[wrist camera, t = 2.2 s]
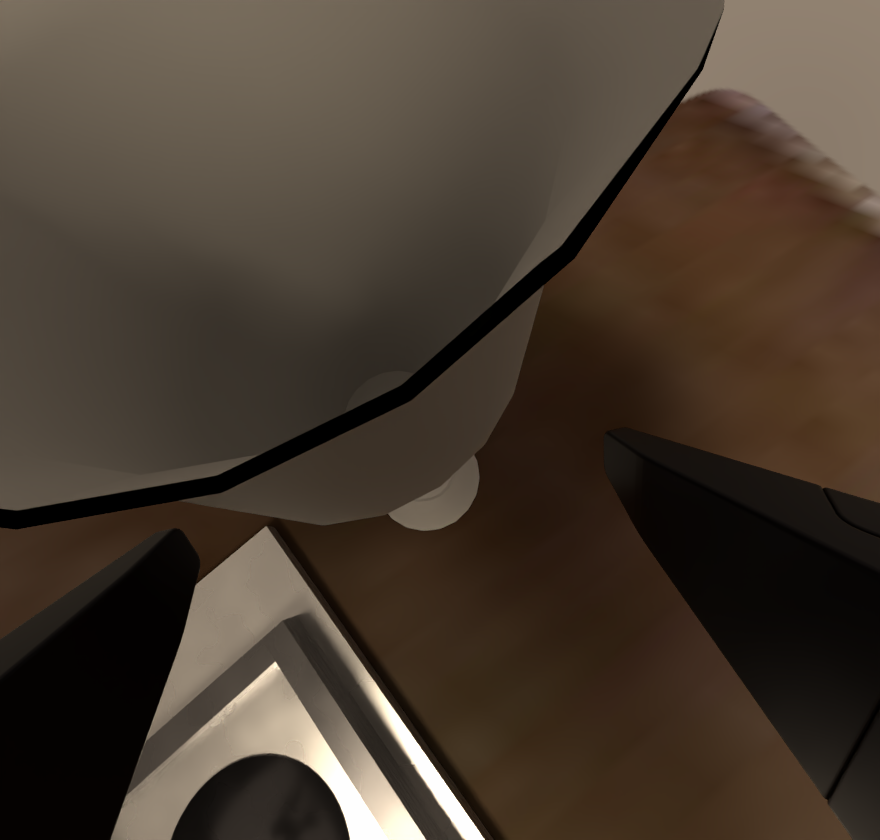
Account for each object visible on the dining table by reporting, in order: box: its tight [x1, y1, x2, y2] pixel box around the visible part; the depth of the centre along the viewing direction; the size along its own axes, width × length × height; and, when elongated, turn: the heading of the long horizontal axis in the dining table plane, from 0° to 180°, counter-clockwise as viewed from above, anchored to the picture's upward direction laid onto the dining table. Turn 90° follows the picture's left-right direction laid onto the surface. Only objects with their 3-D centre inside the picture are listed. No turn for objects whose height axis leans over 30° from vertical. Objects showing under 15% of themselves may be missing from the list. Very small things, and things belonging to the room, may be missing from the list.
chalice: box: [0, 0, 724, 531], centre depth 11 cm, size 7×7×18 cm
